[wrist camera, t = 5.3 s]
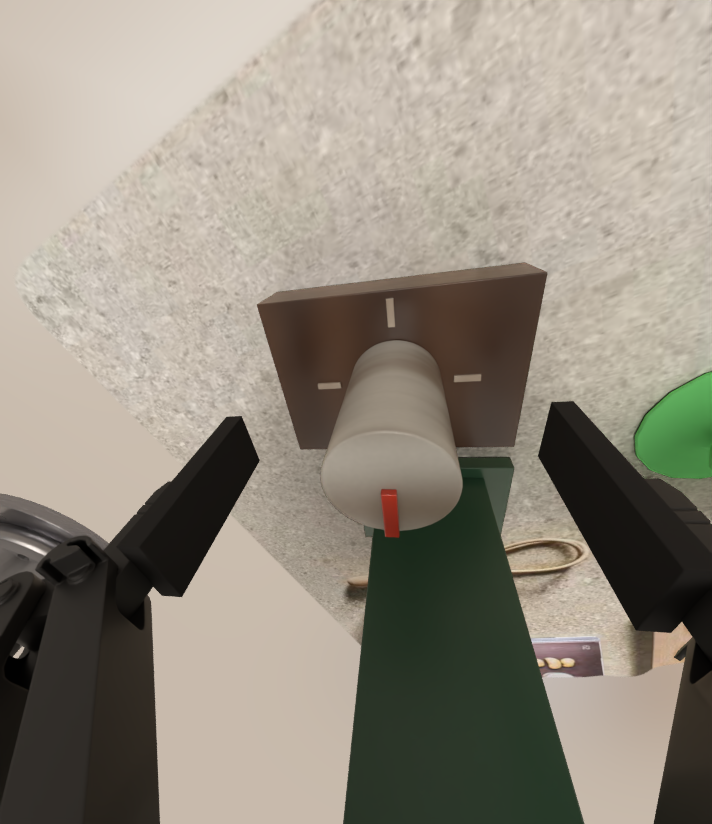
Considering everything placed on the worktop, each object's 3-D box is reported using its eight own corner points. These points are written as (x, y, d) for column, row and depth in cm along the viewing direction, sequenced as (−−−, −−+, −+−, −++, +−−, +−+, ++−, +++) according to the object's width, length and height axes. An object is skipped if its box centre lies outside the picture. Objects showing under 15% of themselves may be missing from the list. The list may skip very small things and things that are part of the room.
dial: (346, 342, 16) (304, 437, 10) (442, 336, 15) (471, 436, 9) (357, 418, 19) (330, 535, 12) (439, 416, 18) (459, 541, 11)
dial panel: (311, 424, 24) (299, 451, 21) (276, 291, 18) (254, 305, 16) (501, 419, 21) (515, 448, 19) (525, 262, 16) (549, 272, 13)
